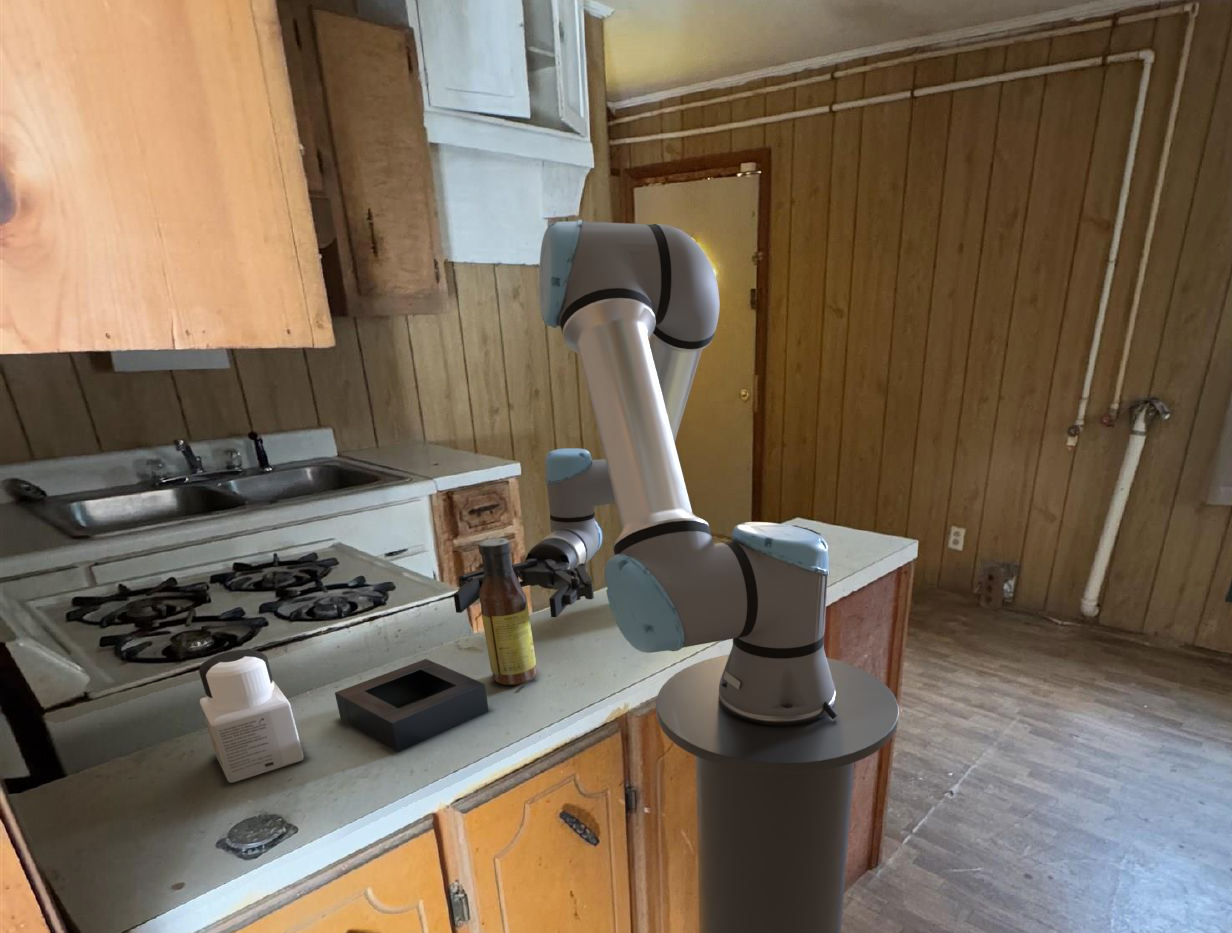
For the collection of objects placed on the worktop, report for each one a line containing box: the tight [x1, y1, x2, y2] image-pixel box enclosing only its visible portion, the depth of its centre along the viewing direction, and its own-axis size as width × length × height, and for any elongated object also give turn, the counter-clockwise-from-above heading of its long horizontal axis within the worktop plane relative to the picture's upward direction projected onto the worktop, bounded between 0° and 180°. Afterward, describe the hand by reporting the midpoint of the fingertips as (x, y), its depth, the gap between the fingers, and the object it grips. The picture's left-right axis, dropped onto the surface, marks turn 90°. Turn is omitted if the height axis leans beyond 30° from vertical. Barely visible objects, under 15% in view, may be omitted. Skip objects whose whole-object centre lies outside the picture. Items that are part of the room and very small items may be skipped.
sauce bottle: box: [477, 537, 537, 686], centre depth 106 cm, size 6×6×20 cm
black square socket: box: [334, 658, 489, 753], centre depth 99 cm, size 13×13×4 cm
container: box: [198, 649, 305, 784], centre depth 88 cm, size 8×8×13 cm
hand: (504, 605), depth 106 cm, fingers open, 13 cm apart
